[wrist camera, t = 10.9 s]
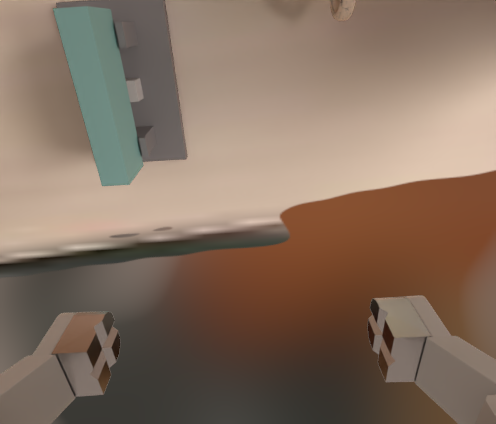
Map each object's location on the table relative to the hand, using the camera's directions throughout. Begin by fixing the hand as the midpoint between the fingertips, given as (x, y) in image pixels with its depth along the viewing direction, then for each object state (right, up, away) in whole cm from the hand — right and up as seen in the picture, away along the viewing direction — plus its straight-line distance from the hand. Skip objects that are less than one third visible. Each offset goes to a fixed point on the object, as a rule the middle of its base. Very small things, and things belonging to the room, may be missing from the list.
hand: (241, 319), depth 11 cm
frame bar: (-12, +14, +22) cm, 29 cm away
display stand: (-12, +17, +26) cm, 33 cm away
